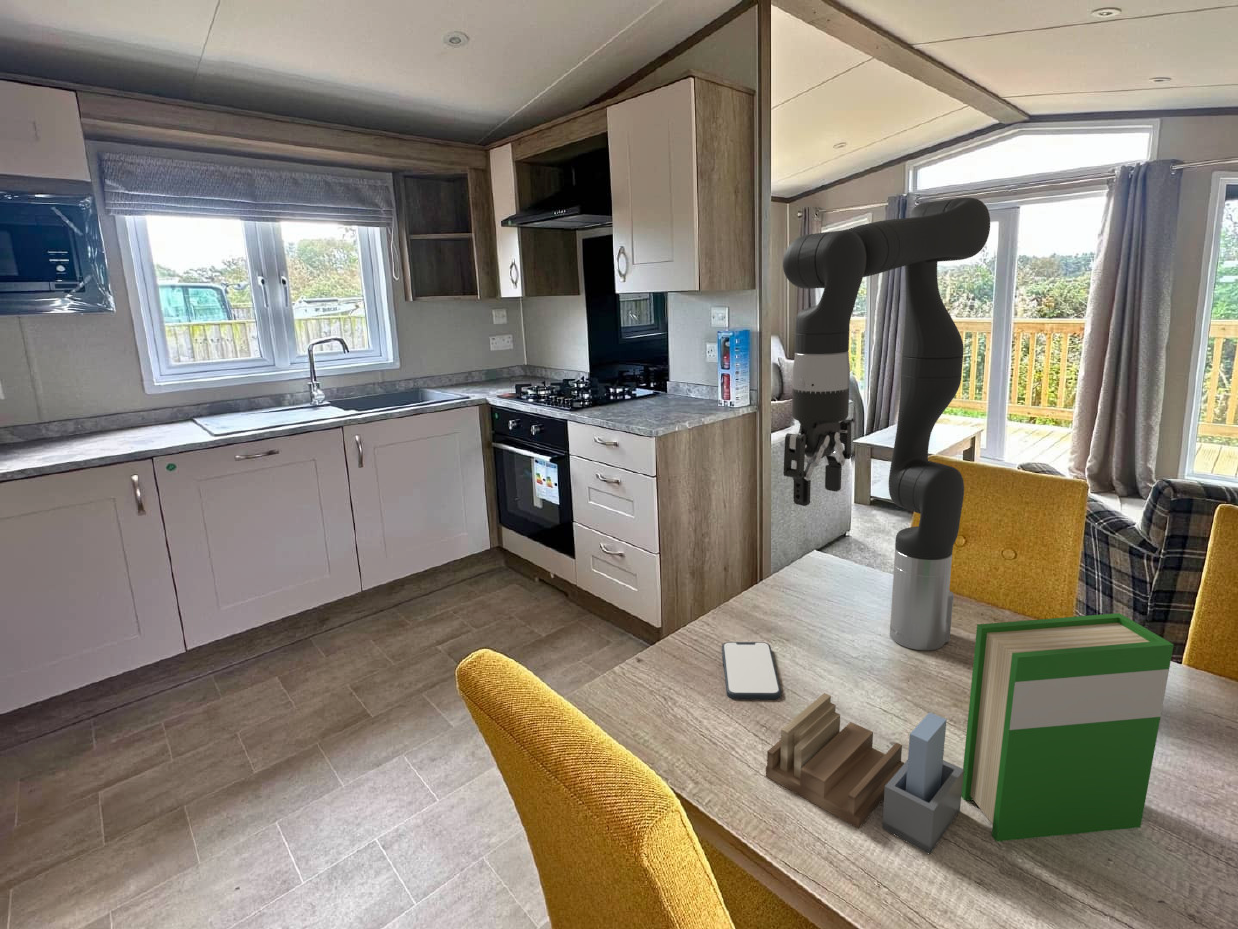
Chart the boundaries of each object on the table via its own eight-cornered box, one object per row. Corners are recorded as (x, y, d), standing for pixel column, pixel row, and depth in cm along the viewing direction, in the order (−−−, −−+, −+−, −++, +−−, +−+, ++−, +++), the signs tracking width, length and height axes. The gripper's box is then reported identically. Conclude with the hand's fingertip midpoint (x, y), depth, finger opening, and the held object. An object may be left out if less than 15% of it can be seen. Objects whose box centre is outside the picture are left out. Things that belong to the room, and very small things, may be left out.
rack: (765, 776, 90) (766, 750, 89) (816, 730, 98) (817, 706, 97) (858, 828, 80) (860, 800, 79) (905, 773, 89) (907, 747, 88)
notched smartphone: (782, 703, 106) (770, 649, 121) (782, 694, 106) (770, 641, 121) (726, 703, 107) (721, 649, 122) (726, 694, 107) (720, 641, 122)
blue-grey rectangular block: (903, 820, 80) (909, 733, 77) (922, 795, 84) (929, 712, 81) (920, 829, 79) (927, 741, 76) (939, 804, 82) (946, 719, 79)
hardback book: (996, 841, 78) (1017, 657, 72) (960, 795, 85) (977, 624, 79) (1140, 827, 79) (1173, 644, 73) (1092, 783, 86) (1119, 613, 80)
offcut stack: (780, 768, 89) (781, 729, 87) (823, 729, 96) (824, 693, 95) (800, 779, 87) (801, 739, 85) (842, 738, 94) (844, 701, 93)
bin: (882, 828, 80) (884, 786, 79) (914, 788, 86) (917, 748, 85) (929, 854, 76) (933, 810, 75) (959, 810, 82) (964, 769, 81)
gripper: (818, 394, 85) (815, 515, 89) (871, 380, 94) (866, 490, 98) (767, 390, 90) (767, 504, 94) (822, 377, 99) (819, 481, 103)
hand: (817, 497), depth 96 cm, fingers open, 8 cm apart
